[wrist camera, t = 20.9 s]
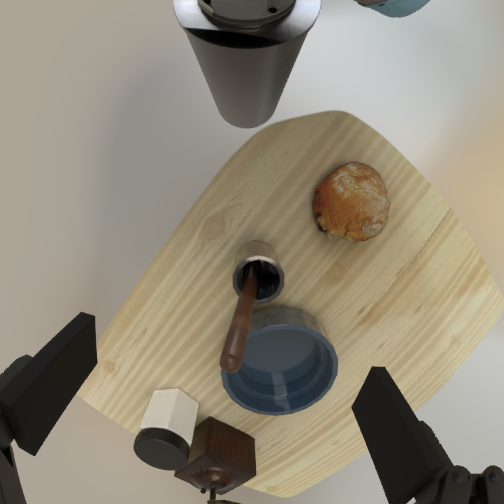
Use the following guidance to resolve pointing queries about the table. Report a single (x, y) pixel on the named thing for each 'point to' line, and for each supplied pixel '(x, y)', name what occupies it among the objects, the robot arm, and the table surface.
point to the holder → (270, 271)
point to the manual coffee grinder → (219, 459)
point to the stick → (241, 321)
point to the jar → (167, 430)
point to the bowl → (283, 363)
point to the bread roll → (351, 203)
